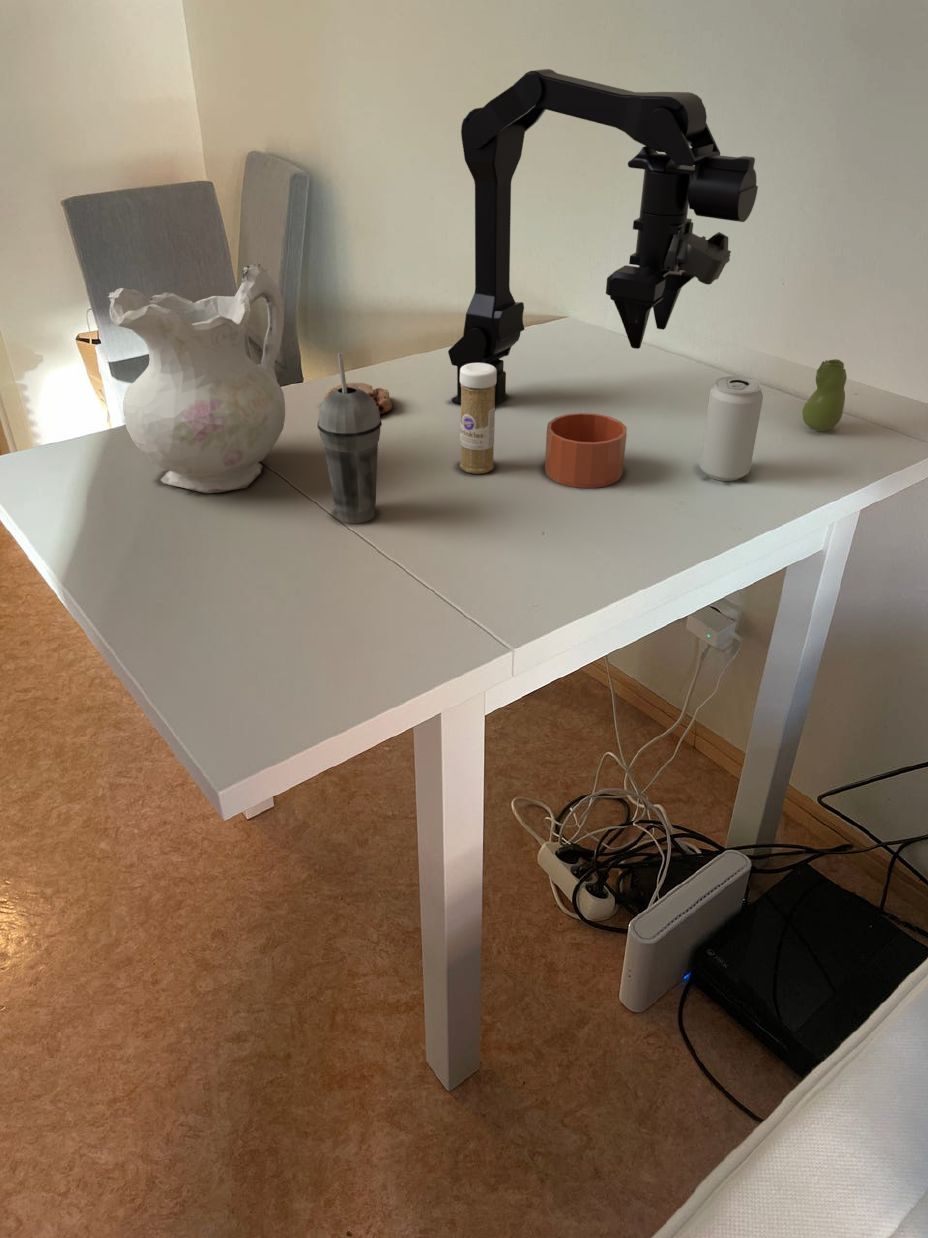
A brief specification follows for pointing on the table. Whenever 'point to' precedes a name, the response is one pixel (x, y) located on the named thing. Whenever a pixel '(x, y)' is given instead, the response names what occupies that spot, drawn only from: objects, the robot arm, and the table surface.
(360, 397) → the beverage cup
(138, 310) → the ceramic pitcher
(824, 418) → the pear
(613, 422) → the bowl
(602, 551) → the table surface
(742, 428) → the beverage can
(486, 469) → the sprinkles bottle
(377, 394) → the cookie
